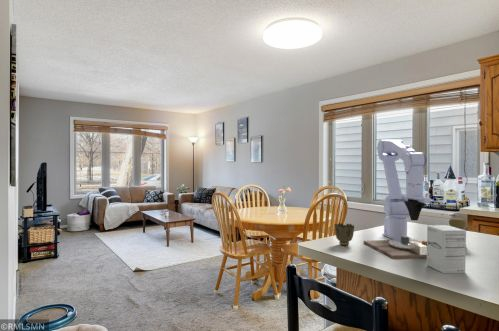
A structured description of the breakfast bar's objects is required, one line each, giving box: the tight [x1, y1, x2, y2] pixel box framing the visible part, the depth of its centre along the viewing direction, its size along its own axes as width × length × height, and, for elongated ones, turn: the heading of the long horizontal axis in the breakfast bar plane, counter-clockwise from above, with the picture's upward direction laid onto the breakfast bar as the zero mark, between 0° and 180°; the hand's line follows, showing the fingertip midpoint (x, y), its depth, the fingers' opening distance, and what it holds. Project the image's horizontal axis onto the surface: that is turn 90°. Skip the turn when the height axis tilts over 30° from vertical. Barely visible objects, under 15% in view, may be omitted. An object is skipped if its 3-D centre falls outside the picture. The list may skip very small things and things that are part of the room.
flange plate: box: [389, 239, 427, 255], centre depth 111 cm, size 16×11×3 cm, turn 3°
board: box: [363, 235, 427, 260], centre depth 113 cm, size 20×22×5 cm
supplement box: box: [426, 224, 467, 274], centre depth 92 cm, size 7×7×13 cm
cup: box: [333, 222, 355, 247], centre depth 119 cm, size 8×7×8 cm
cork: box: [448, 217, 466, 230], centre depth 117 cm, size 6×6×11 cm
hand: (414, 220), depth 116 cm, fingers closed
